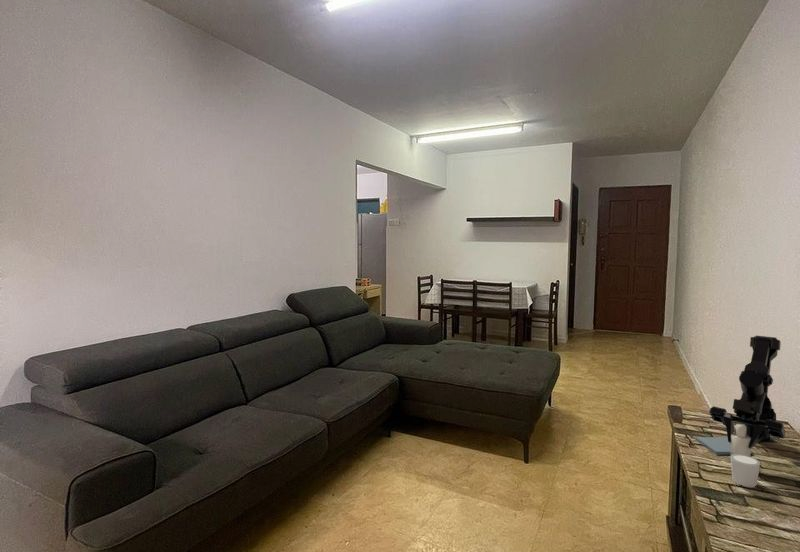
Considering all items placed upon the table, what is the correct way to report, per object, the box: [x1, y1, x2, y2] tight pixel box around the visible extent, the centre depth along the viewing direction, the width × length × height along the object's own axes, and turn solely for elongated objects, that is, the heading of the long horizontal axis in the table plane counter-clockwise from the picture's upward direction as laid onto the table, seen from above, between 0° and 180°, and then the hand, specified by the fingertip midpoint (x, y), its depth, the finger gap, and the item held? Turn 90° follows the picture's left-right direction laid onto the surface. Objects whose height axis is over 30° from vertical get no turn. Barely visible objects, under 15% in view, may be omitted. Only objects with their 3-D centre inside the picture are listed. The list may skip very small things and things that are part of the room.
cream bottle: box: [729, 423, 752, 463], centre depth 137 cm, size 5×5×12 cm
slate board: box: [695, 436, 754, 456], centre depth 149 cm, size 12×11×1 cm
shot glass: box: [730, 454, 761, 488], centre depth 127 cm, size 7×7×7 cm
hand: (739, 444), depth 136 cm, fingers closed on cream bottle, 5 cm apart
